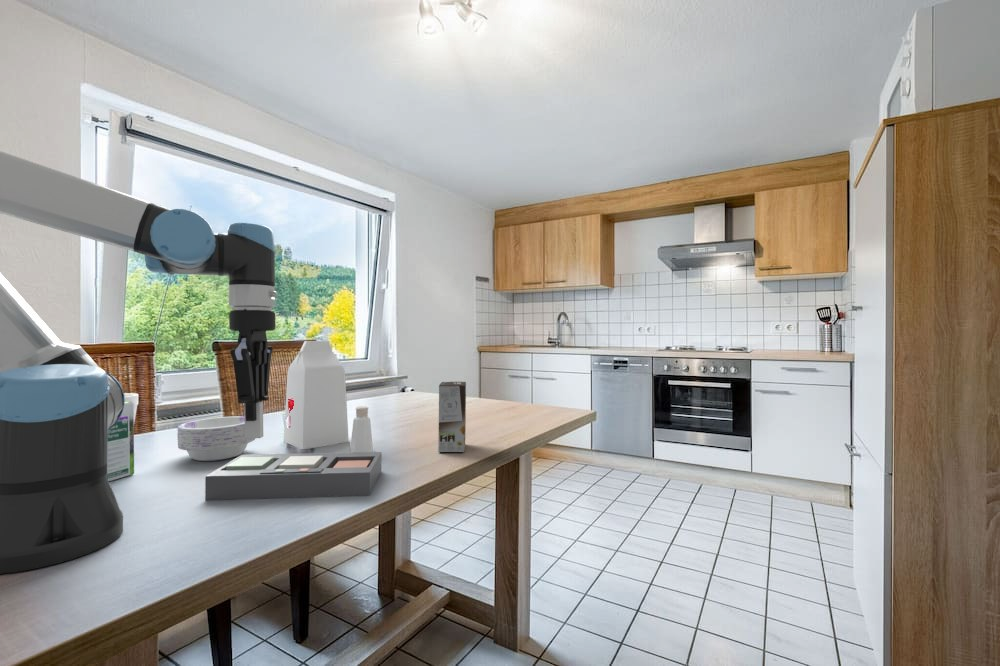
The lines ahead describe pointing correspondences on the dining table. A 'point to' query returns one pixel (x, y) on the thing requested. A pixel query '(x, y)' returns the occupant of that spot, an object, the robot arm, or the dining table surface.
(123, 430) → the syrup box
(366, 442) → the pepper shaker
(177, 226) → the robot arm
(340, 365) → the milk
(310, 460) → the cream key
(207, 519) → the dining table surface
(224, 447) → the paper bowls
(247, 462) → the sage key
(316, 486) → the keypad
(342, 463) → the terracotta key
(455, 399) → the coffee box
